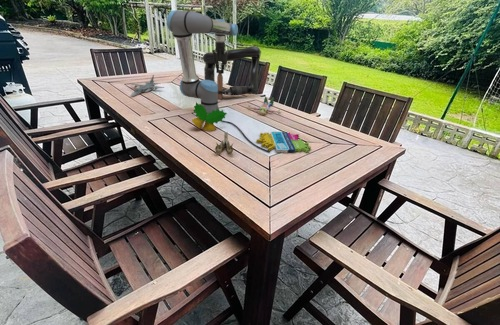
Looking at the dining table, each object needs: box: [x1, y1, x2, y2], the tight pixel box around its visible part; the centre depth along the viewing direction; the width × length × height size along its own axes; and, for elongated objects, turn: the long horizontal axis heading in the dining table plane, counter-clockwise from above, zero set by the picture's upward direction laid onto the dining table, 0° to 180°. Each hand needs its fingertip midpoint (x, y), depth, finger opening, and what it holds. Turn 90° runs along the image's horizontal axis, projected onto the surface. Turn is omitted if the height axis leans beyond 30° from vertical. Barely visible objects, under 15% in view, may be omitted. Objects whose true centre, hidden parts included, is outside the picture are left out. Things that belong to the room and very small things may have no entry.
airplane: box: [130, 74, 165, 97], centre depth 228 cm, size 38×32×10 cm
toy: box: [246, 95, 283, 116], centre depth 203 cm, size 28×7×30 cm
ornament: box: [191, 102, 228, 132], centre depth 162 cm, size 21×8×15 cm, turn 105°
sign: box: [256, 131, 312, 154], centre depth 152 cm, size 26×2×30 cm
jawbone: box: [214, 131, 234, 156], centre depth 136 cm, size 9×15×10 cm
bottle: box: [216, 73, 224, 100], centre depth 219 cm, size 4×4×23 cm
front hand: (220, 73), depth 214 cm, fingers closed on cap, 4 cm apart
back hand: (216, 91), depth 220 cm, fingers closed on bottle, 4 cm apart
